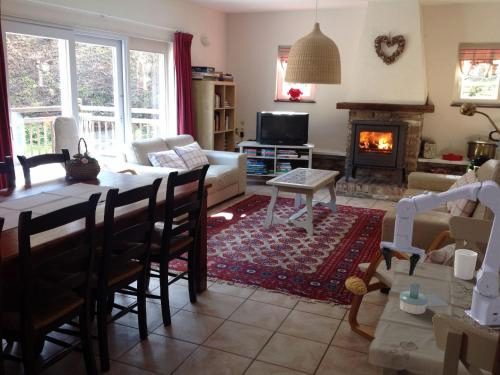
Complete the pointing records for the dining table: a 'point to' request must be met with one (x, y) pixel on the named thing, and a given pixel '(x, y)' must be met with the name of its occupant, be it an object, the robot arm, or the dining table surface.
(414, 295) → the lid
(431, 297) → the mat
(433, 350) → the dining table surface
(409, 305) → the bowl
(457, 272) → the white cup
